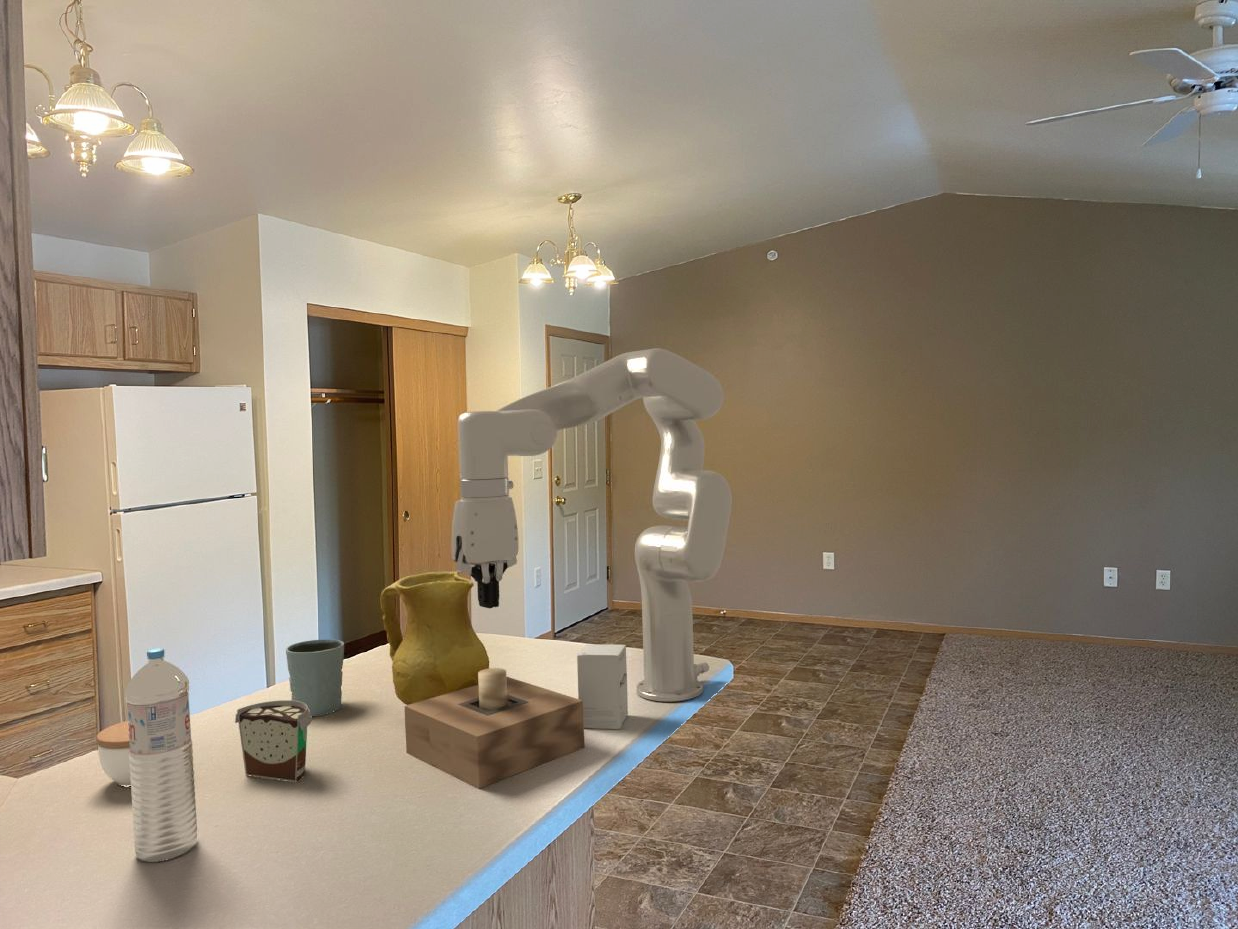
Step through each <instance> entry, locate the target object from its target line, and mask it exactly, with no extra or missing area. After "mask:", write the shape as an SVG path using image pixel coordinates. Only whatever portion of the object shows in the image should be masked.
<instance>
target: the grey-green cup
mask: <svg viewBox="0 0 1238 929" xmlns="http://www.w3.org/2000/svg"><path fill="white" fill-rule="evenodd" d="M344 642H345V641H342V640H339V639H332V638H331V639H330V638H329V639H327V638H326V639H323V638H322V639H311V640H306V641H305V640H304V641H300V642H297V643H293V644H291V645H289V646H287V647H286V648H285V653H286V654H285V655H286V660H287V661H286V662H287V671H288V673H289V676H290V677H288V678H289V688H290V690H289V691H290V692H291V698H290V700H292V701H299V702H303V703H305V704H306V705H307V707H308V708H309V710H310V713H311V716H316V717H319V716H318V715H322V716H325V715H324V714H326V715H328V714H327V713H330V712H333V711H335V712H337V711H339V708H340V709H341V708H342V707H341V706H342V694H343V693H342V686H343V670H342V669H343V665H344V654H345V653H344V652H345V643H344ZM336 710H337V711H336ZM333 713H334V712H333ZM330 714H331V713H330Z"/></svg>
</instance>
